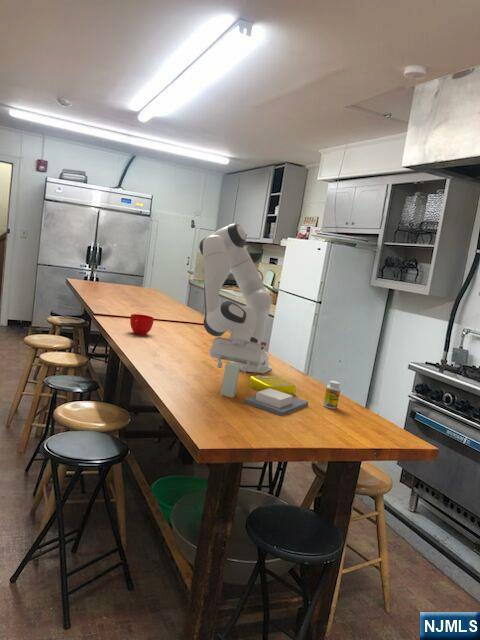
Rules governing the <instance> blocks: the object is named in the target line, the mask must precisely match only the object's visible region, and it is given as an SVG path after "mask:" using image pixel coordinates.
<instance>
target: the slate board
mask: <svg viewBox="0 0 480 640" xmlns="http://www.w3.org/2000/svg"><path fill="white" fill-rule="evenodd" d="M243 403H244V404H247V405H249V406H252V407H255V408H258V409H260V410H264V411H267V412H269V413H272V414H275V415H277V416H281V417H283V416H285V415H288V414H291V413H293V412H296V411H298V410H300V409H302V408H306V407H308V406H309V401H306V400H303V399H301V398H298V397H294V395H289V394H286V393H283V392H280V391H276V390H273V389H270V388H269V389H266V390H262V391H257V392H256V394H255V395H253V396H250V397H246V398H244V400H243Z"/></svg>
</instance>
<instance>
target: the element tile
mask: <svg viewBox="0 0 480 640" xmlns="http://www.w3.org/2000/svg"><path fill="white" fill-rule="evenodd" d="M248 385H249V387H251V388H253V389H254V390H257V392H259V391H262V390H266V389H269V388H270V389H273V390H276V391H280V392H283V393H286V394H289V395H292V396H294V395H296V390H297V385H296V384H294V383H292V382H290V381H287V380H286V379H283V378H282V377H279V376H277V375H251V376H250V378H249V384H248Z"/></svg>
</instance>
